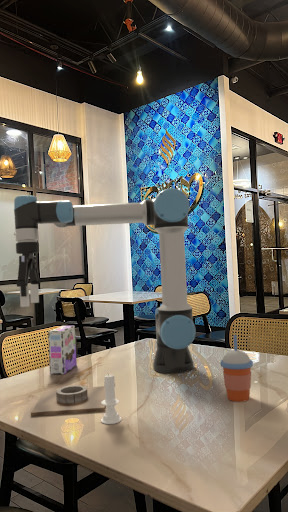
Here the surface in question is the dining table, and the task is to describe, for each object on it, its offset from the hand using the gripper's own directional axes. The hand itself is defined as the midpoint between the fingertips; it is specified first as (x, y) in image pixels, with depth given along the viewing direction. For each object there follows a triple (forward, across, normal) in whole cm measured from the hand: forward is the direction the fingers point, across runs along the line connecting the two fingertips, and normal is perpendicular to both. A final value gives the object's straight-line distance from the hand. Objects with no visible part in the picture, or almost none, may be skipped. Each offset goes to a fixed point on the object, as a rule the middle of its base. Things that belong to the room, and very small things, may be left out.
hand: (30, 304), depth 140 cm
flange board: (+28, +17, +15) cm, 36 cm away
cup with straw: (+28, +23, +63) cm, 73 cm away
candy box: (+28, -22, +6) cm, 36 cm away
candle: (+28, +34, +28) cm, 52 cm away
